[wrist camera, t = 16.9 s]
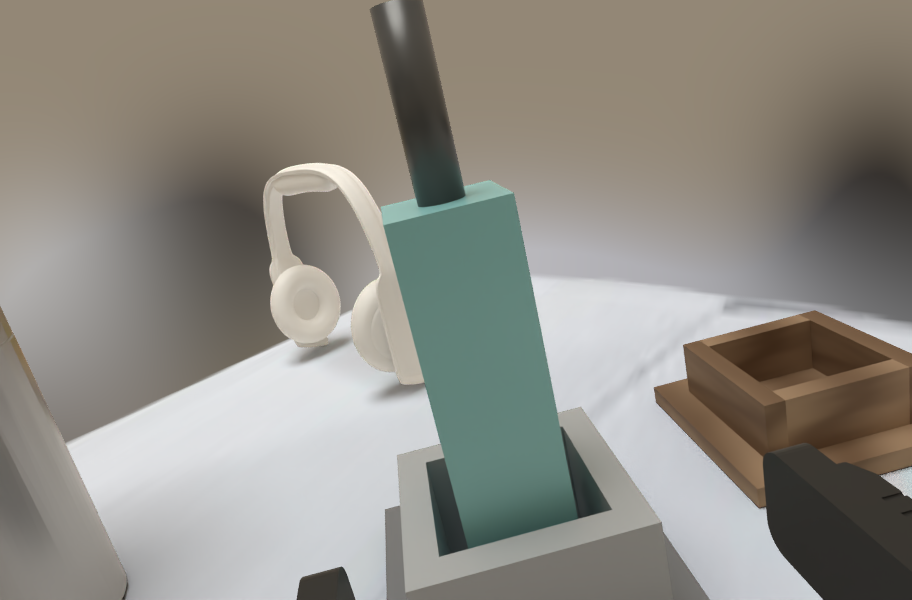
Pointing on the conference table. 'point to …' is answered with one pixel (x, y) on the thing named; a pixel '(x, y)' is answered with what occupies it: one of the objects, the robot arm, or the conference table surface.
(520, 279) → the plug
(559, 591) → the box
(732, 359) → the brown open square box
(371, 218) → the headset
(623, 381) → the conference table surface
